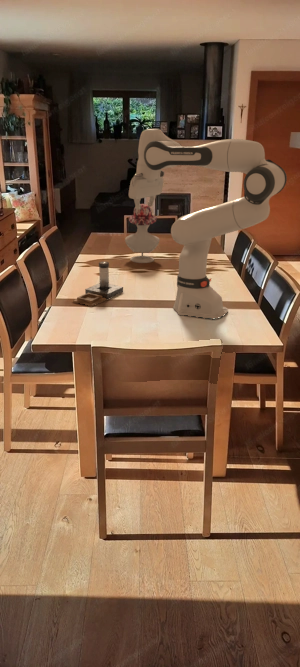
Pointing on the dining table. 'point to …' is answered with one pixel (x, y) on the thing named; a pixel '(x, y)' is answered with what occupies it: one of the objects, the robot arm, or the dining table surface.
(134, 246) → the beige curvy piece
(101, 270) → the lidded glass canister
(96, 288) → the socket block
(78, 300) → the square wooden tray
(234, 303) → the dining table surface
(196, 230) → the robot arm
